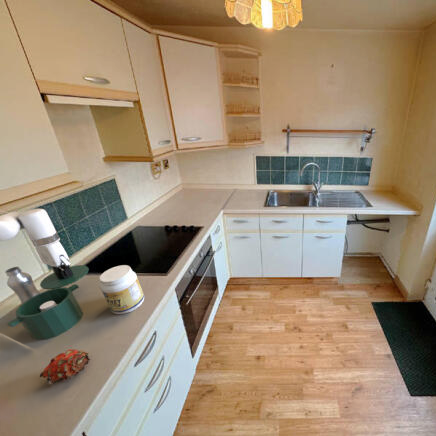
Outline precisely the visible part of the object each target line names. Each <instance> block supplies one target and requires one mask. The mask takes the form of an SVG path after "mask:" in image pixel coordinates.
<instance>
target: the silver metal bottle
mask: <svg viewBox="0 0 436 436" xmlns="http://www.w3.org/2000/svg"><path fill="white" fill-rule="evenodd" d="M4 273H5V274H6V276H7V277H8V278H7V281H6V285H7V287H9V289H11V290H12V291H13V292H14V293H15V295H16V296H17V297H18V299H19V301H20V303H21V305H22V304H23V303H24V302H25V301H27V300H28V299H30V298H32V297H34V296H35V295H37V294H40V293H41V292H40V291H39V290H38V288H37V287H36V284H35V283H34V280H33V277H32V275H31V274H30V273H27V272H23V271H22V269H21V268H20V267H19V266H13V267H10V268H8V269H6V270H5V272H4Z"/></svg>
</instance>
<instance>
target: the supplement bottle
mask: <svg viewBox="0 0 436 436" xmlns="http://www.w3.org/2000/svg"><path fill="white" fill-rule="evenodd" d="M56 305H57V304H55V302H54V301H48V302H46V303H44V304H42V305H41V306H40V310H41V311H42V312H44V311H46V310H48V309H51V308H53V307H54V306H56Z"/></svg>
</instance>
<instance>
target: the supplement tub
mask: <svg viewBox="0 0 436 436" xmlns="http://www.w3.org/2000/svg"><path fill="white" fill-rule="evenodd" d="M99 281H100V286H99V287H100V291H101V292H102V295H103V297H104V299H105V301H106V303H107V305H108V307H109V310H110V311H111V312H112V313H113V314H115V315H125V314H128V313H131V312H133V311H135V310H137V309H138V308H139V307H140V306H141V305H142V304H143V303H144V301H145V294H144V291H143V288H142V286H141V284H140V281H139V278H138V275H137V273H136V272H135V271H133V269H132V268H131V266H130V265H127V264H122V265H117V266H114V267H111V268H109V269H107V270H105V271H104V272H103V273H101V274H100V275H99Z"/></svg>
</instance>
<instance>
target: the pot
mask: <svg viewBox="0 0 436 436" xmlns="http://www.w3.org/2000/svg"><path fill="white" fill-rule="evenodd" d="M79 288H80V286H79V285H78V284H76V283H75V284H71V285H70V286H69V287H66V286H64V287H60V288H55V289H46V290H44V291H43V292H40V294H37V295H35V296H34V297H32V298H30V299H28V300H27V301H25V302H24V303H23V304H22V303H21V304H20V305H19V306H18V307H17V308H16V310H15V316H16V317H15V318H13V319H11V320H10V321H7V322H6V324H7V326H8V327H12V328H14V327H15V326H17V325H18V324H20V323H21V324H22V326H23V327H24V328H25V329H26V331H27V332H28V334H29V335H30V336H31V338H33V339H34V340H36V341H45V340H49V339H52V338H55V337H58V336H60V335H61V334H64V333H66V332H68V331H69V330H70V329H72V328H73V327H75V326H76V325H77V324H78V323H79V322H80V321H81V320H82V318H83V316H84V310H83V308H81V305H80V304H79V301H78V300H77V298H76V297H75V296H76V295H74V293H73V292H74V291H75V290H77V289H79ZM48 301H54V302H55V304H57V305H56V306H54V307H53V308H51V309H48V310H46V311H44V312H42V311H41V310H40V306H41V305H42V304H44V303H46V302H48Z"/></svg>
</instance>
